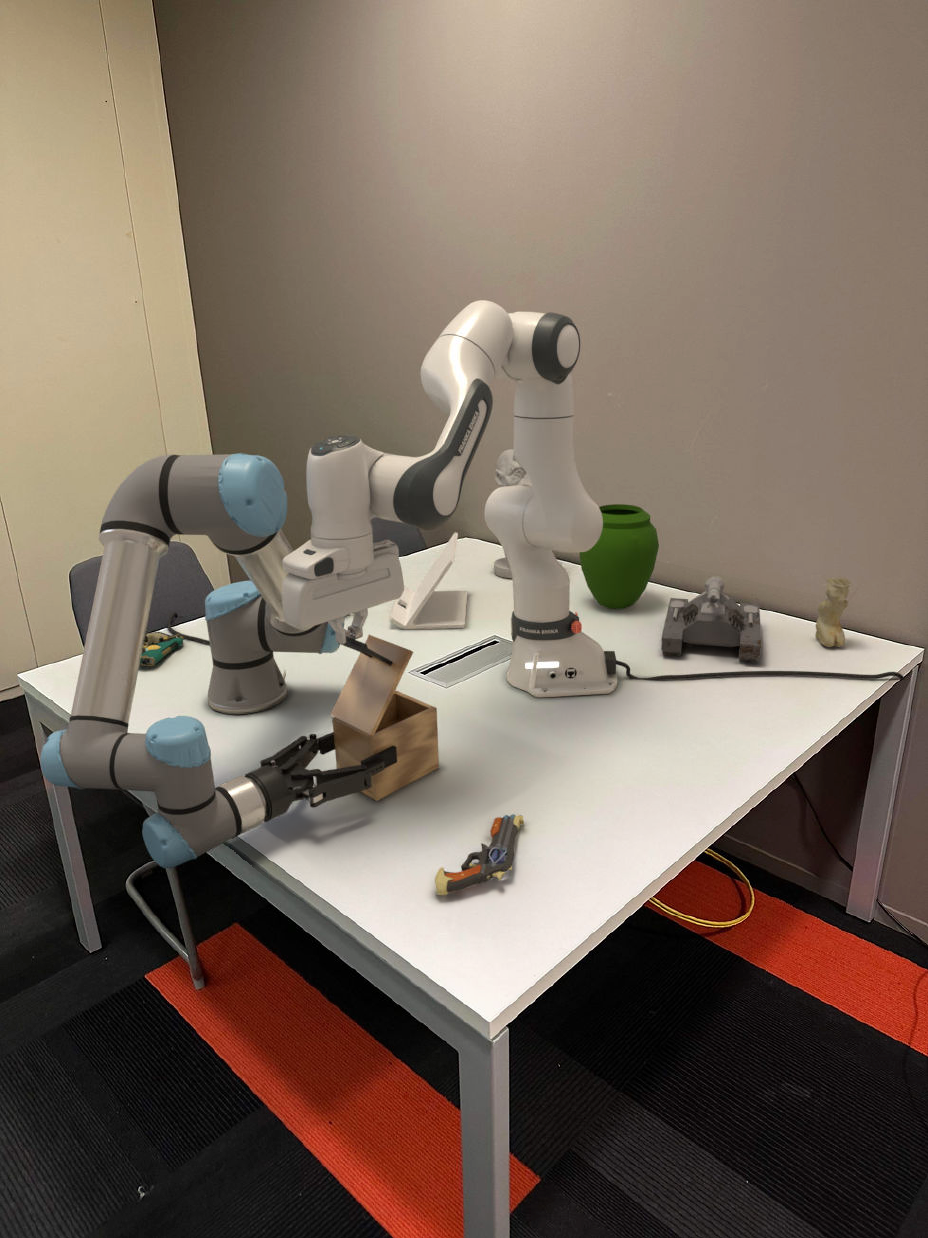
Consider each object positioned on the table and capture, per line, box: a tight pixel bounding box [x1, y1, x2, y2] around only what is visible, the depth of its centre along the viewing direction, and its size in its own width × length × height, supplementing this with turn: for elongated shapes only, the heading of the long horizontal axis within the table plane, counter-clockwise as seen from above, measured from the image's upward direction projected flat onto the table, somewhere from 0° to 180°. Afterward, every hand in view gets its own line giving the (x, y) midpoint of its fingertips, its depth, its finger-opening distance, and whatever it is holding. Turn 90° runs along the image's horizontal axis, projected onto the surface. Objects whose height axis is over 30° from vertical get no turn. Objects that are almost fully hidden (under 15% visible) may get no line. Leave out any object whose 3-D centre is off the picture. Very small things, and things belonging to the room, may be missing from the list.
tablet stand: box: [388, 531, 468, 630], centre depth 211 cm, size 18×25×17 cm
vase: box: [578, 503, 660, 610], centre depth 210 cm, size 20×20×24 cm
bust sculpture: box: [493, 448, 533, 579], centre depth 231 cm, size 16×24×35 cm
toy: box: [660, 575, 762, 662], centre depth 188 cm, size 25×20×15 cm
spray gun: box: [139, 631, 185, 667], centre depth 192 cm, size 4×17×15 cm
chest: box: [331, 690, 440, 802], centre depth 139 cm, size 14×10×11 cm
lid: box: [330, 634, 414, 736], centre depth 131 cm, size 14×10×8 cm
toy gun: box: [434, 813, 525, 896], centre depth 119 cm, size 3×19×10 cm
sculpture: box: [814, 576, 852, 648], centre depth 185 cm, size 6×7×15 cm
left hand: (373, 742), depth 137 cm, fingers closed on chest, 10 cm apart
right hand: (349, 639), depth 129 cm, fingers closed
